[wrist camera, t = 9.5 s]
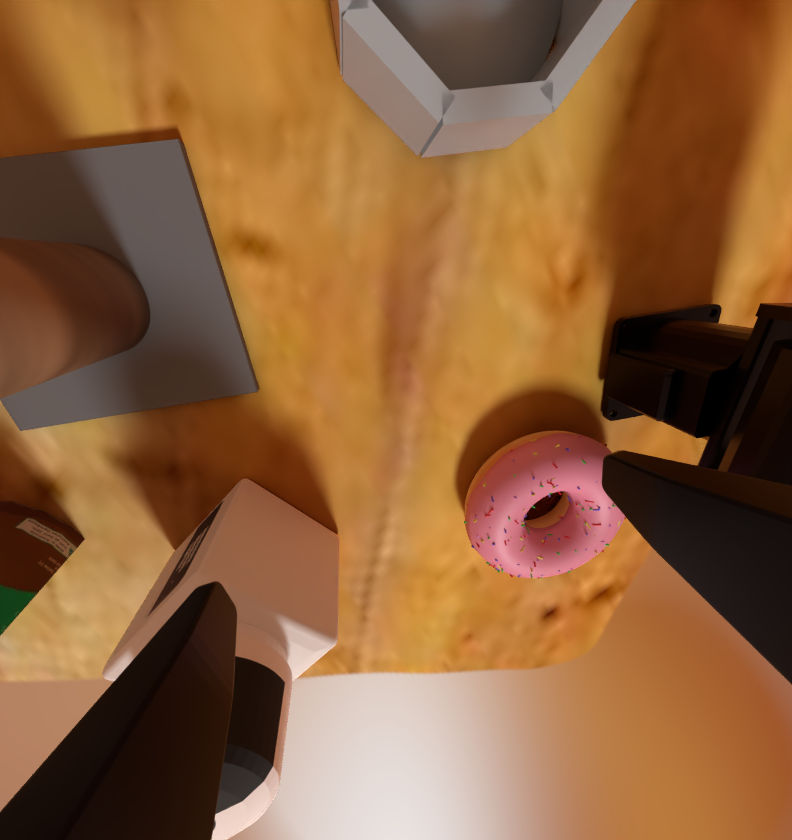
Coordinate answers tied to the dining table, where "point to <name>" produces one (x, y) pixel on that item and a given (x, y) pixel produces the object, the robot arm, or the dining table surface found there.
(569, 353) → the dining table surface
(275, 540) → the container
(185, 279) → the mat
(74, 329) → the pepper mill
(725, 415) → the robot arm
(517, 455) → the doughnut
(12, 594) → the food container
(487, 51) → the bowl
